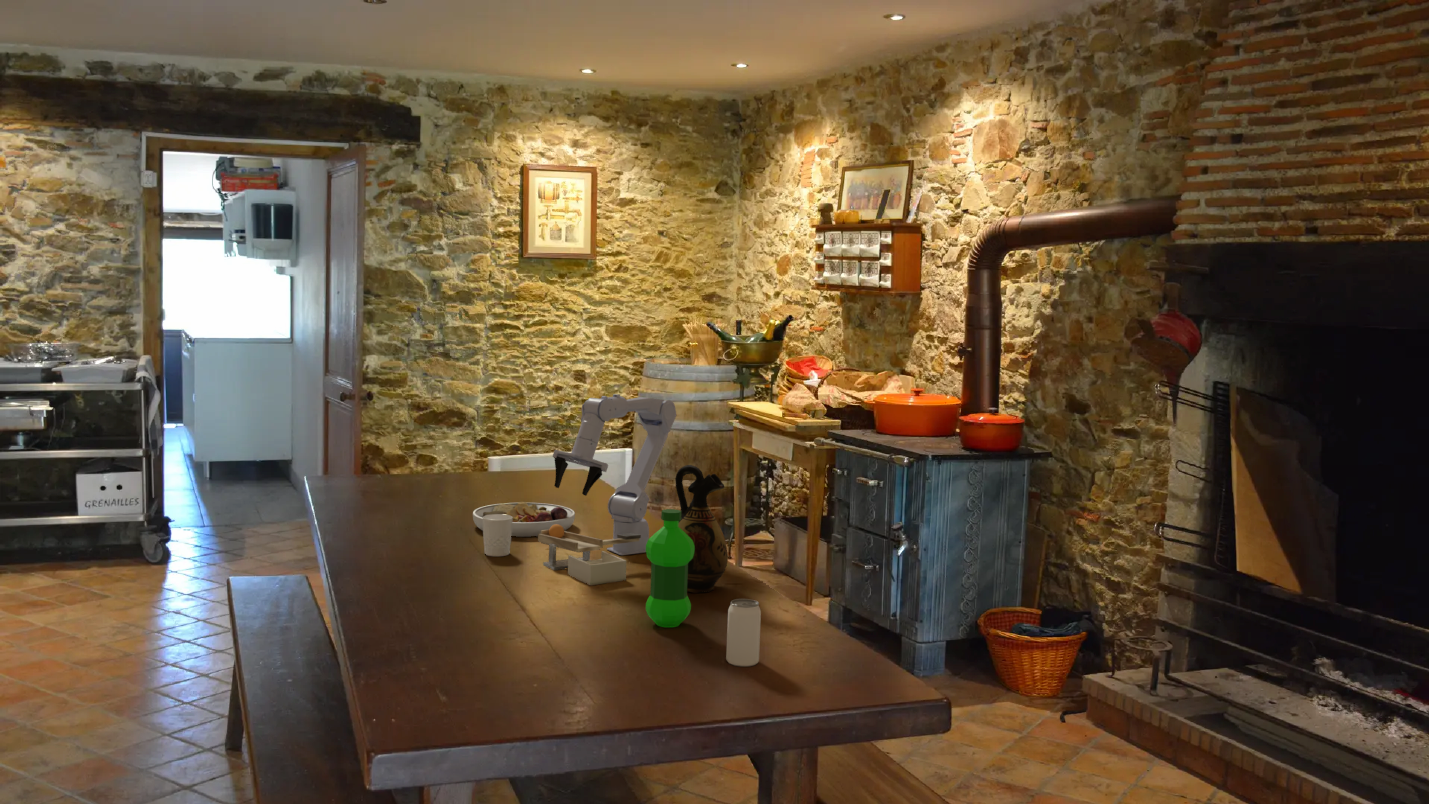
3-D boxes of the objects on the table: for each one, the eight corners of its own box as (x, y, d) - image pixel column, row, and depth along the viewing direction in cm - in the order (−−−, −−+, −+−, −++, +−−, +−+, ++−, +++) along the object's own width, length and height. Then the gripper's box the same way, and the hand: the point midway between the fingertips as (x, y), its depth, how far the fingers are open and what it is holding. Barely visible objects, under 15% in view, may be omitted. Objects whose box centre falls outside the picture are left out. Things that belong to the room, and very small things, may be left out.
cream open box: (602, 570, 288) (603, 551, 287) (625, 580, 279) (626, 560, 278) (567, 574, 282) (568, 555, 281) (590, 585, 273) (590, 565, 272)
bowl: (452, 532, 326) (452, 505, 325) (508, 514, 354) (508, 489, 353) (541, 544, 315) (542, 516, 314) (592, 525, 343) (593, 499, 342)
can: (724, 656, 224) (726, 597, 223) (756, 656, 225) (759, 598, 223) (727, 667, 218) (730, 607, 216) (760, 667, 218) (763, 607, 217)
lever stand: (583, 560, 298) (584, 537, 297) (595, 565, 293) (595, 542, 292) (543, 565, 290) (543, 542, 290) (554, 570, 286) (554, 547, 285)
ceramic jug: (734, 584, 279) (739, 465, 276) (714, 599, 265) (719, 474, 262) (671, 576, 285) (675, 459, 282) (648, 590, 270) (652, 468, 267)
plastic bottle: (674, 634, 237) (678, 518, 235) (634, 624, 243) (638, 511, 240) (700, 623, 246) (704, 511, 243) (660, 614, 251) (664, 504, 249)
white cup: (505, 558, 296) (505, 521, 295) (477, 555, 298) (477, 518, 297) (516, 551, 304) (517, 515, 303) (489, 549, 306) (489, 513, 305)
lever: (600, 536, 308) (600, 523, 308) (641, 545, 291) (641, 532, 291) (538, 543, 297) (538, 530, 297) (577, 553, 280) (577, 539, 280)
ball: (560, 538, 299) (559, 523, 300) (567, 538, 296) (566, 523, 296) (546, 540, 297) (545, 525, 297) (553, 540, 294) (552, 524, 294)
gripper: (557, 430, 289) (540, 480, 285) (609, 444, 286) (593, 494, 283) (563, 438, 296) (547, 486, 292) (615, 451, 293) (599, 500, 289)
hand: (570, 490), depth 288 cm, fingers open, 7 cm apart
